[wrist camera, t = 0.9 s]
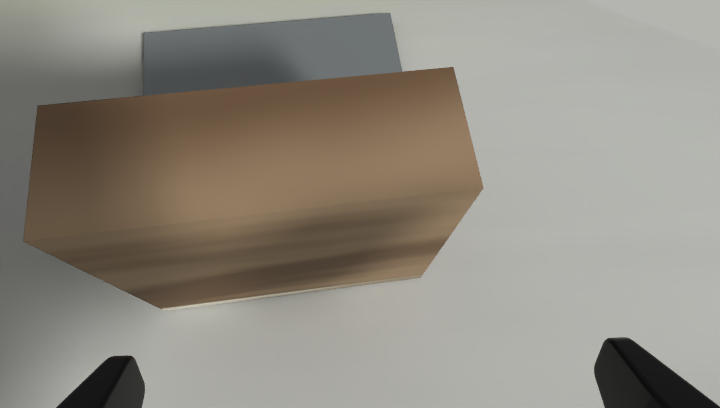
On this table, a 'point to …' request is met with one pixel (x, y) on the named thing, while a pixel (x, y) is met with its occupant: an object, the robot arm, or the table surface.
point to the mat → (268, 53)
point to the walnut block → (254, 186)
